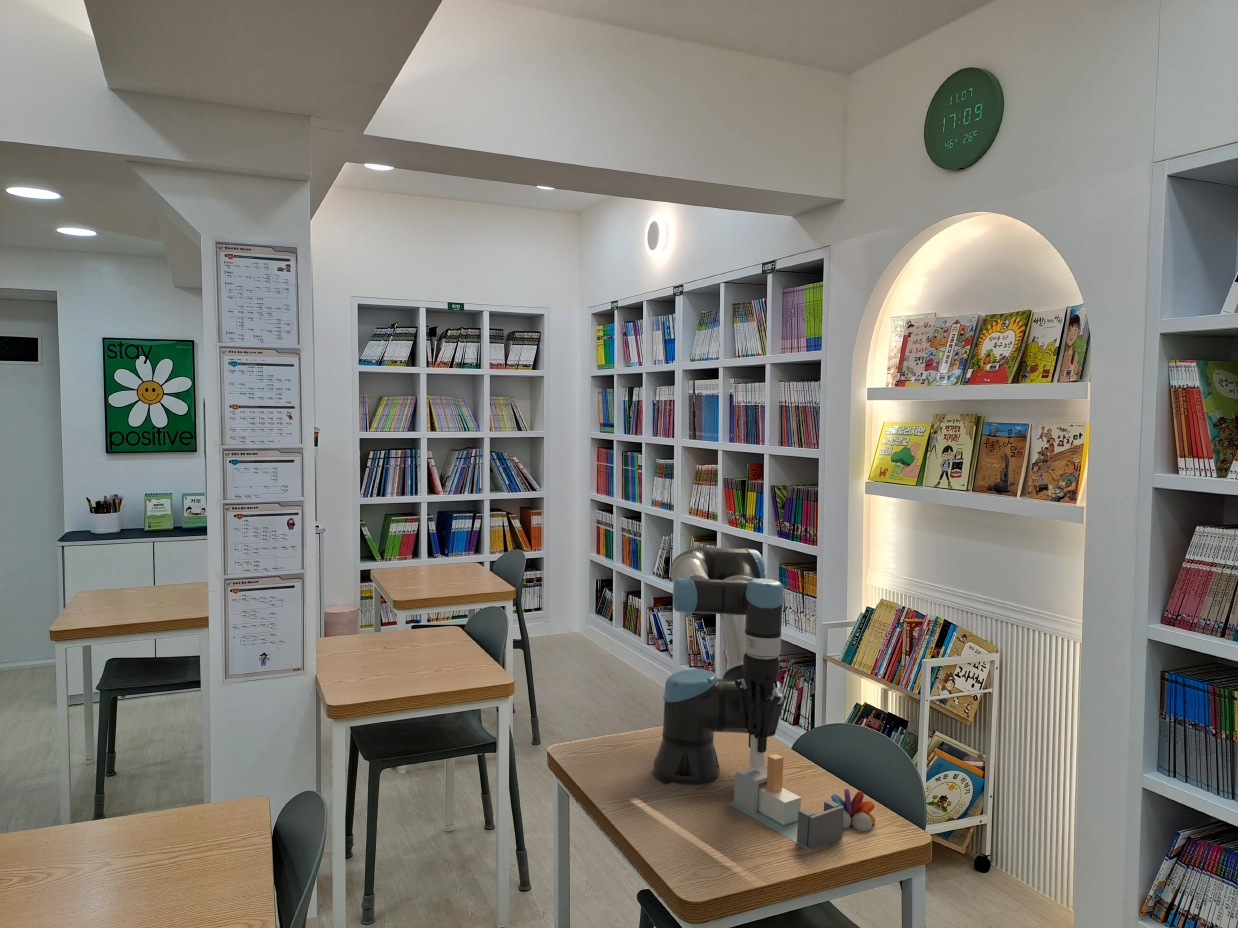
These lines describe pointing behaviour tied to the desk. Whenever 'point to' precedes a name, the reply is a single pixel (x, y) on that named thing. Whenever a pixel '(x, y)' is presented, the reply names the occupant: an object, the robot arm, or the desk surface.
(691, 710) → the robot arm
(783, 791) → the block with wooden peg
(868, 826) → the rainbow disc toy
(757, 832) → the desk surface
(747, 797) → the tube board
